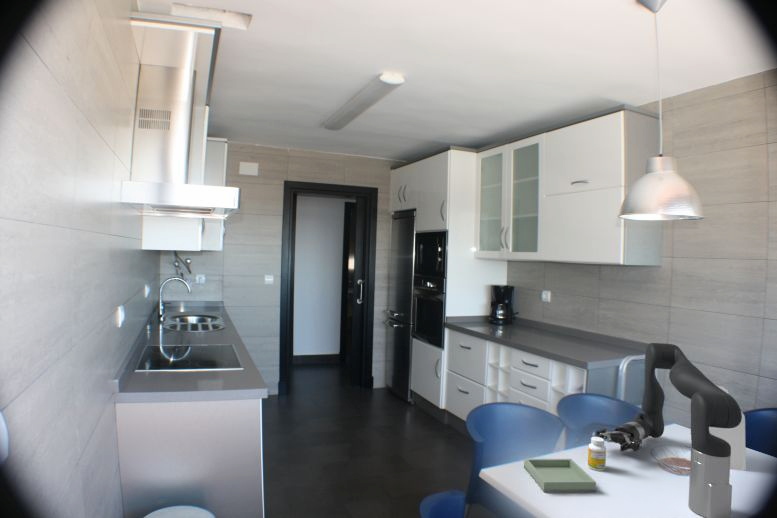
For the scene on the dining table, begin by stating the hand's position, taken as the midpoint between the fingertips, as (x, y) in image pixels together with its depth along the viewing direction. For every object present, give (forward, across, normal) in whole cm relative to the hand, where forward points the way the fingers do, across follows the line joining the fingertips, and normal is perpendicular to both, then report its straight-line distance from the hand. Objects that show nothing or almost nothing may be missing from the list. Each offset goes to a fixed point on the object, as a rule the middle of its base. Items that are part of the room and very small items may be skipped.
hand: (609, 444), depth 164 cm
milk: (-34, +23, +6) cm, 42 cm away
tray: (+27, -3, +6) cm, 28 cm away
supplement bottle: (+8, 0, +6) cm, 10 cm away
